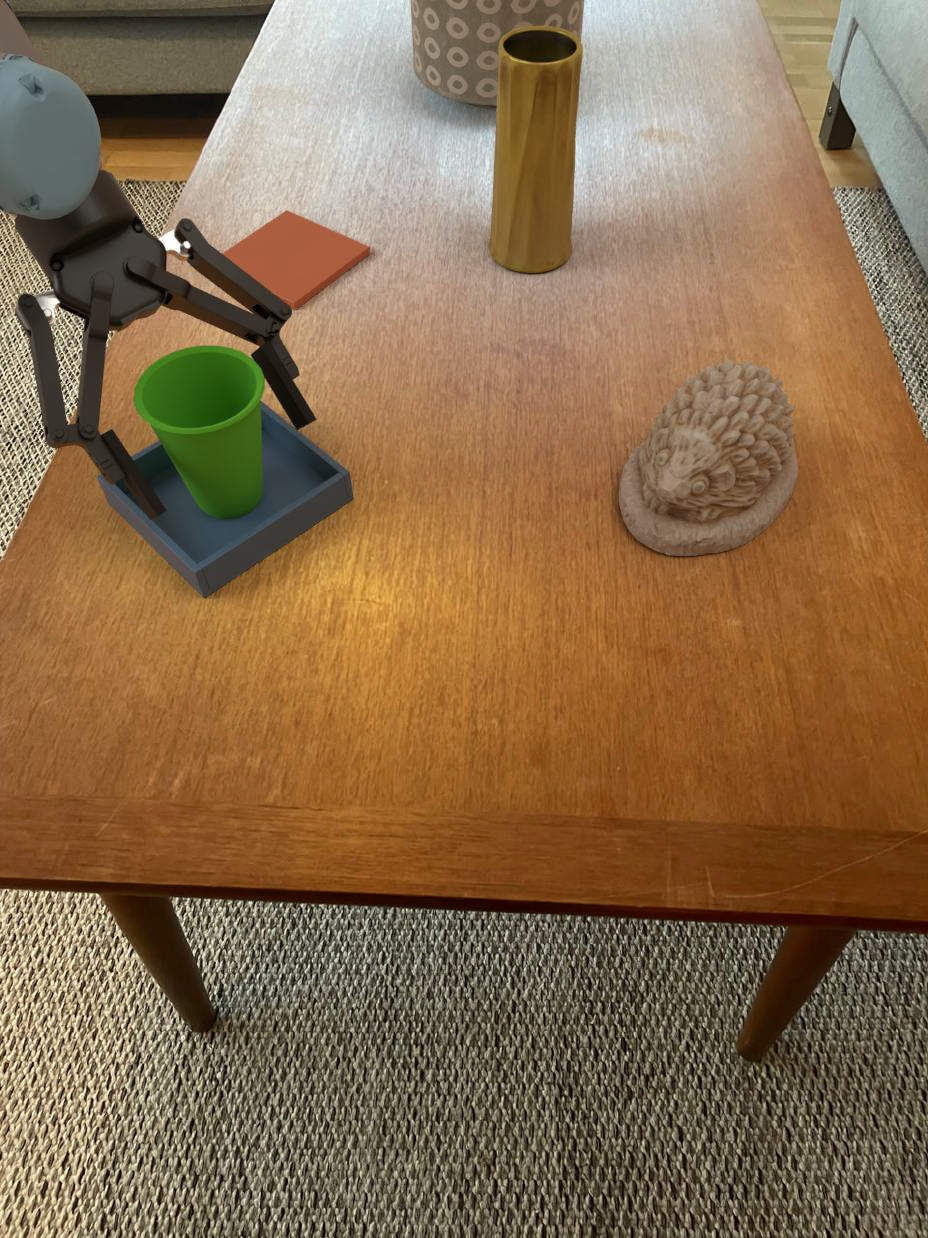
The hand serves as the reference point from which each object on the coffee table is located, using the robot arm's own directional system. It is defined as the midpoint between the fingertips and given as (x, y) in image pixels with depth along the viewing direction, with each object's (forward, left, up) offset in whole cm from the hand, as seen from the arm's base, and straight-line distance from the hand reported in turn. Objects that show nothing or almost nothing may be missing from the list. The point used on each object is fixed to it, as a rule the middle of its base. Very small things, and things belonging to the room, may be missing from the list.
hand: (235, 469), depth 72 cm
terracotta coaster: (+23, +24, -5) cm, 34 cm away
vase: (+41, +9, -5) cm, 42 cm away
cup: (0, +2, -5) cm, 6 cm away
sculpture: (+28, -23, -5) cm, 36 cm away
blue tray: (0, +2, -5) cm, 6 cm away
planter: (+61, +34, -5) cm, 70 cm away
